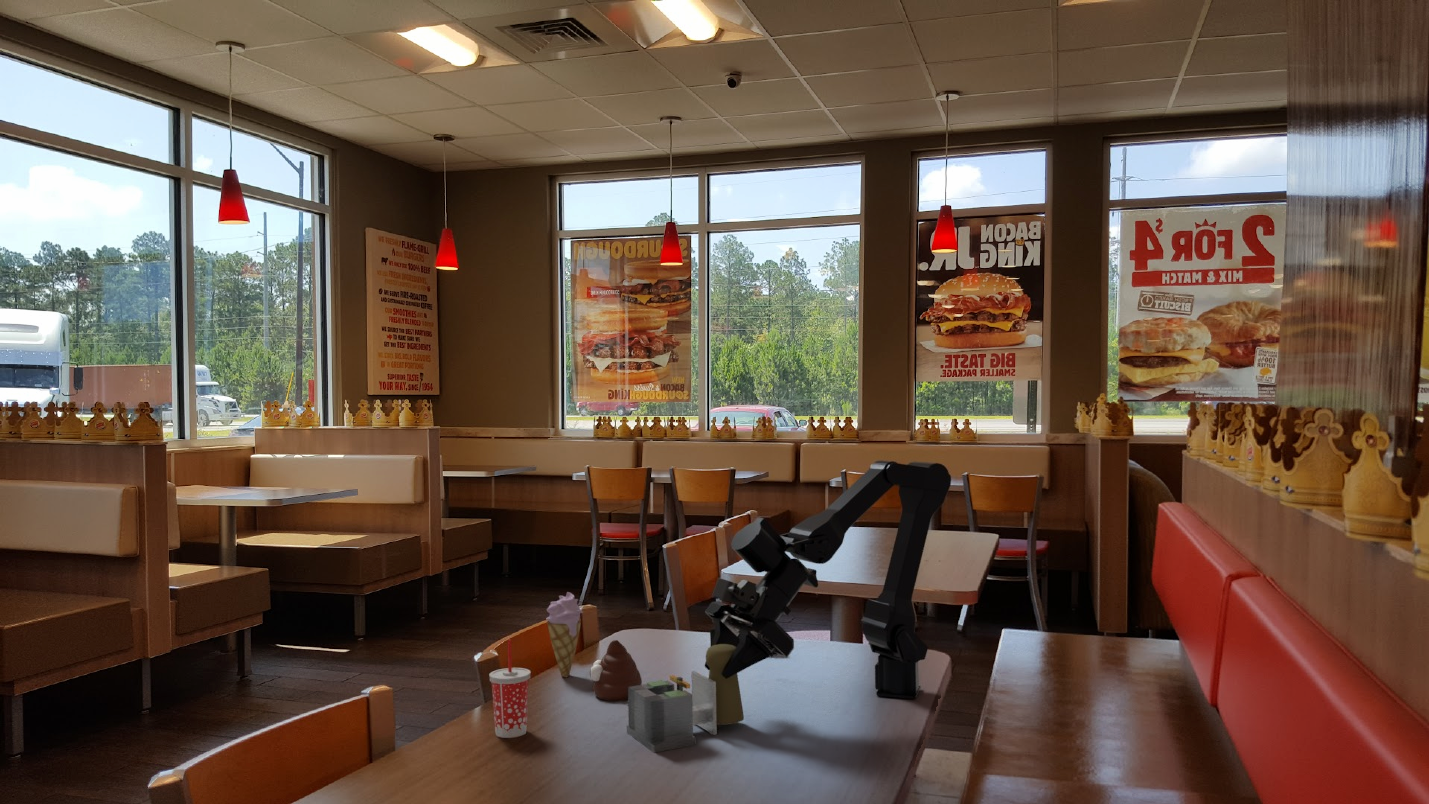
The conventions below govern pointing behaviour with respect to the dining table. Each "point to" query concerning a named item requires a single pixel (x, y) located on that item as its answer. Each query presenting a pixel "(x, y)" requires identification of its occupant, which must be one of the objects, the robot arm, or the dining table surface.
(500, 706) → the beverage cup
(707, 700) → the plunger
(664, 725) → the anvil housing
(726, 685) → the cork
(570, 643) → the ice cream cone
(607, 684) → the poop emoji
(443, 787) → the dining table surface
